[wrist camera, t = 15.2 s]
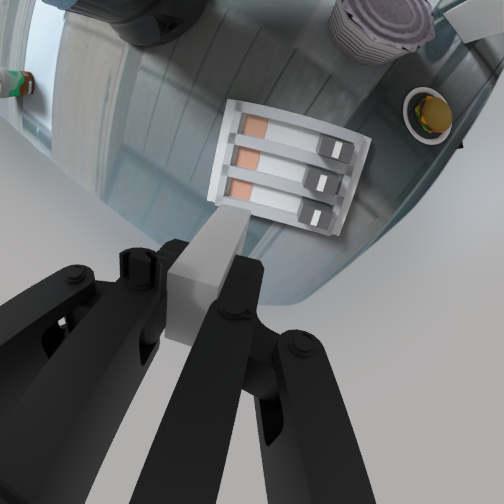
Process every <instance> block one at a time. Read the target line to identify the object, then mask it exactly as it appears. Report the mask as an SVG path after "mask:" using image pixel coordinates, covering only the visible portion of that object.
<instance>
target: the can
mask: <svg viewBox="0 0 504 504" xmlns="http://www.w3.org/2000/svg"><path fill="white" fill-rule="evenodd" d="M328 27H329V30H330V34H331V37H332V40H333V44H334V45H335V46H336V47H338V48H339V49H340V50H341V51H342V52H343V53H344V54H345V55H347V56H348V57H349V58H350V59H351V60H352V61H356V62H360V63H364V64H367V65H371V66H374V67H376V66H379V65H382V64H385V63H388V62H391V61H394V60H396V59H398V58H400V57H402V56H404V55H406V54H407V53H409V52H412V53H413V52H414V51H416V50H417V49H419V48H420V47H421V46H423V45H425V44H427V42H429V41H430V40H432V39H434V38H435V30H434V21H433V13H432V6H431V5H430V4H429V3H428V2H427V0H336V2H335V5H334V8H333V10H332V13H331V16H330V18H329V21H328Z"/></svg>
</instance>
